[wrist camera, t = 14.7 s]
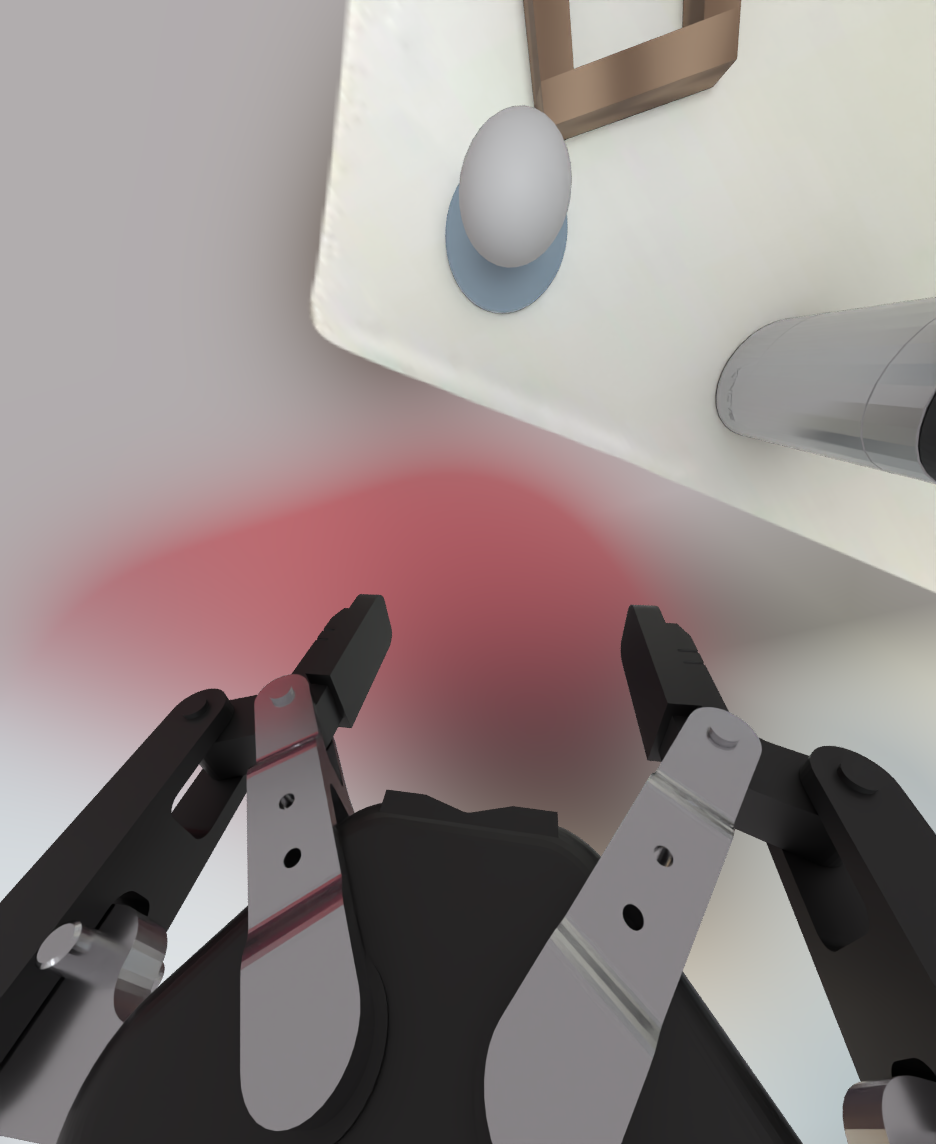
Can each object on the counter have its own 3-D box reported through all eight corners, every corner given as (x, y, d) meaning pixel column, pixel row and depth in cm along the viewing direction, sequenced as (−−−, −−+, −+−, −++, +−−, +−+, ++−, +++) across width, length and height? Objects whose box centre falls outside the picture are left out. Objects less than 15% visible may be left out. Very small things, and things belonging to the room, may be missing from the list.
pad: (556, 137, 25) (559, 128, 24) (570, 294, 29) (573, 292, 28) (431, 181, 26) (430, 175, 25) (462, 327, 30) (462, 326, 30)
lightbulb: (453, 276, 28) (443, 229, 18) (475, 168, 25) (476, 45, 16) (528, 301, 29) (556, 269, 19) (557, 199, 26) (607, 101, 16)
